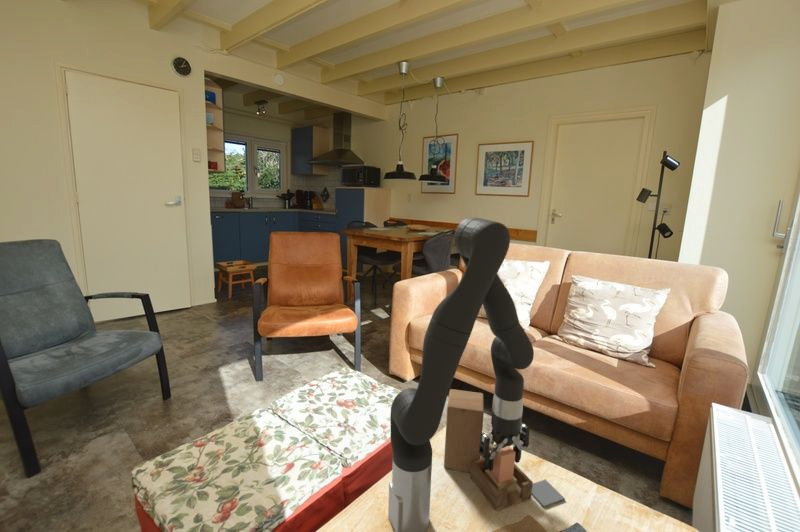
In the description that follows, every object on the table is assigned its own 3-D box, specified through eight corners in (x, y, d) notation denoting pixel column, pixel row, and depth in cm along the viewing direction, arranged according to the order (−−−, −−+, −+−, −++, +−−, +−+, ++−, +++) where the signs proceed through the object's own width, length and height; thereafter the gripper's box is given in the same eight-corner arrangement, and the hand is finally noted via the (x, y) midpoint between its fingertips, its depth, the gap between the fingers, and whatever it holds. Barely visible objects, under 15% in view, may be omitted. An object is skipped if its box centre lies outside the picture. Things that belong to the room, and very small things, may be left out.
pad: (543, 507, 97) (543, 505, 96) (525, 488, 103) (525, 486, 103) (564, 500, 99) (564, 498, 99) (545, 481, 105) (545, 479, 105)
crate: (496, 510, 95) (497, 493, 94) (470, 477, 106) (471, 461, 105) (530, 498, 99) (532, 482, 98) (502, 467, 110) (504, 452, 109)
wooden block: (478, 474, 107) (483, 411, 103) (443, 468, 109) (447, 406, 105) (478, 451, 117) (483, 392, 113) (446, 446, 119) (449, 388, 115)
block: (498, 483, 99) (501, 456, 97) (488, 471, 103) (491, 445, 102) (512, 478, 101) (515, 452, 99) (502, 467, 105) (504, 441, 103)
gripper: (492, 424, 92) (488, 481, 95) (539, 412, 97) (533, 467, 100) (475, 407, 99) (472, 462, 102) (519, 397, 104) (515, 449, 107)
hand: (502, 464), depth 101 cm, fingers open, 8 cm apart
